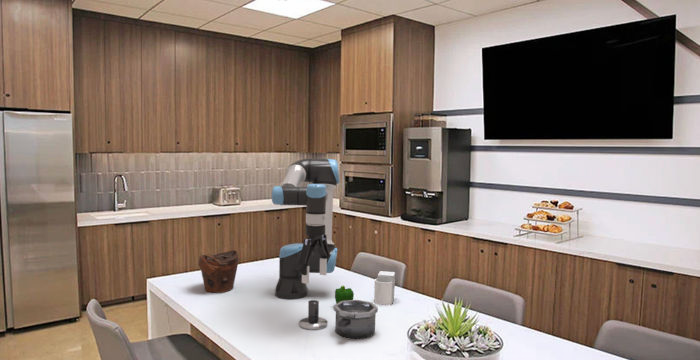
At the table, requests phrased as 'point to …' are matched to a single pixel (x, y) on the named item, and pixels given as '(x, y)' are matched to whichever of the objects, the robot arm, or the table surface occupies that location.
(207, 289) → the chocolate muffin
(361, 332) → the pot
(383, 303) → the cup
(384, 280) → the supplement box
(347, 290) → the bell pepper
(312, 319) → the lid
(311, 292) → the table surface
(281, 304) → the table surface
